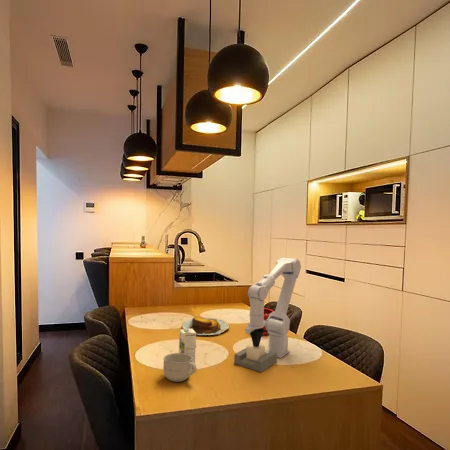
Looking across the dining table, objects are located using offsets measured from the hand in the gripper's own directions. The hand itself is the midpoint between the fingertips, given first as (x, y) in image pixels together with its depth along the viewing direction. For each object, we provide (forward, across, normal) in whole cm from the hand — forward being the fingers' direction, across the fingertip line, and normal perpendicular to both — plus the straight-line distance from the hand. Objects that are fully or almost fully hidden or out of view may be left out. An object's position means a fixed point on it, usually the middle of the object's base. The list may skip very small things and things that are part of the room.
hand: (256, 346), depth 141 cm
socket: (+7, 0, 0) cm, 7 cm away
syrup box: (+7, +21, -20) cm, 30 cm away
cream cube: (+7, 0, 0) cm, 7 cm away
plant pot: (+7, -36, -18) cm, 41 cm away
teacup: (+7, +31, -14) cm, 35 cm away
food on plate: (+8, -21, -45) cm, 50 cm away
